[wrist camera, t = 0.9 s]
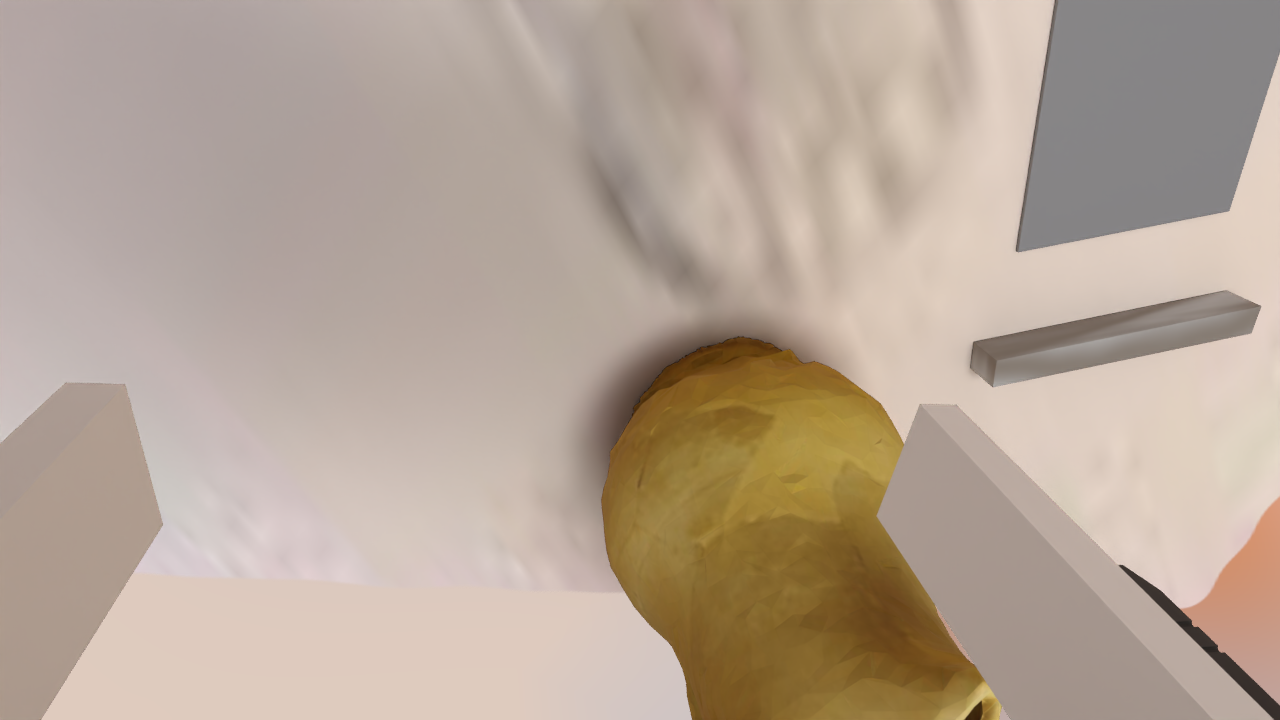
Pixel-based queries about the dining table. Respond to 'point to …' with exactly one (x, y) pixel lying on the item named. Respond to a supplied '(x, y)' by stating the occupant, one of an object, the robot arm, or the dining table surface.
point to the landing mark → (1145, 113)
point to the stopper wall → (1113, 337)
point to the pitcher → (777, 546)
